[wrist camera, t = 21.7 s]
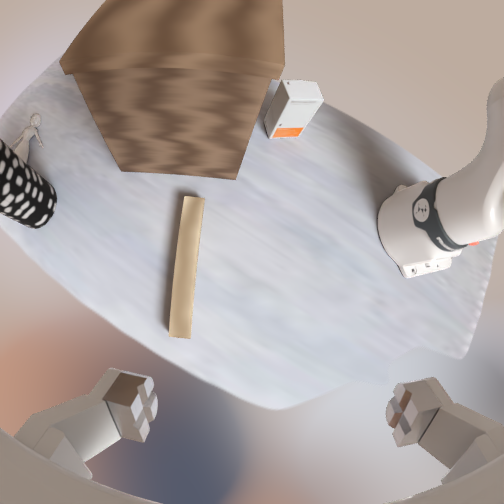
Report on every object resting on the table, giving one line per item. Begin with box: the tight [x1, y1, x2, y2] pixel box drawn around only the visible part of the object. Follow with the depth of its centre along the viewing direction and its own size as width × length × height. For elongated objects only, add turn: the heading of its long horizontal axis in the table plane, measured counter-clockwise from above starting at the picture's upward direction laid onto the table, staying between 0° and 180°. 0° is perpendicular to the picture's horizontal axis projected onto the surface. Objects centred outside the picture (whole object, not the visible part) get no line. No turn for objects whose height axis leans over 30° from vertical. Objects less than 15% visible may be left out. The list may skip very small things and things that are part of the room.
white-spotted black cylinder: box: [0, 139, 57, 229], centre depth 27 cm, size 8×8×20 cm
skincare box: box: [264, 80, 324, 139], centre depth 41 cm, size 6×4×12 cm
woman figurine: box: [9, 114, 43, 164], centre depth 36 cm, size 12×4×18 cm
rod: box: [169, 196, 205, 339], centre depth 39 cm, size 3×20×3 cm, turn 175°
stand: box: [59, 0, 285, 180], centre depth 31 cm, size 20×18×26 cm
